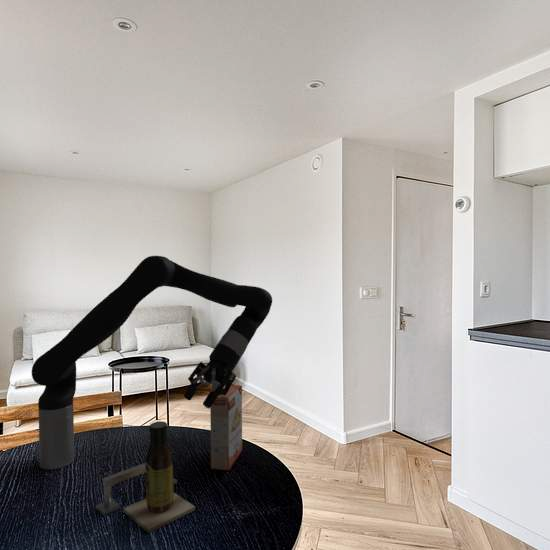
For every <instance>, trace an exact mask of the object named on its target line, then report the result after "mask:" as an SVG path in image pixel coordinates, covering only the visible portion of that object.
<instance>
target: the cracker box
mask: <svg viewBox="0 0 550 550" xmlns="http://www.w3.org/2000/svg"><path fill="white" fill-rule="evenodd" d="M225 387H226V385H225V386H224V387H223V389H225ZM209 409H210V412H209V413H210V469H211V470H220V471H230V470H231V468H232V466H233V464H234V463H235V462H236V461H237V459H238V457H240V454H241V453H242V451H243V386H242V385H241V384H232V385H231V387H230V389H229V391H228V392H227V394H226V395H225V396H224V395H220V396H218V397H217V398H216V400H215V401H214V403H213V405H212V406H211V407H210V408H209Z"/></svg>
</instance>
